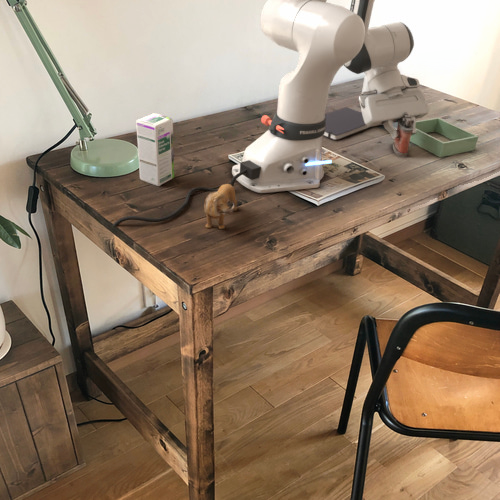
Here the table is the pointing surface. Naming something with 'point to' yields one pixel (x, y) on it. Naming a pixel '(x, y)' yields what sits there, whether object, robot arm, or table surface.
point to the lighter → (403, 135)
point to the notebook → (343, 123)
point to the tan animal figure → (219, 204)
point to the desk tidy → (460, 137)
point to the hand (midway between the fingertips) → (404, 136)
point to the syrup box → (155, 149)
